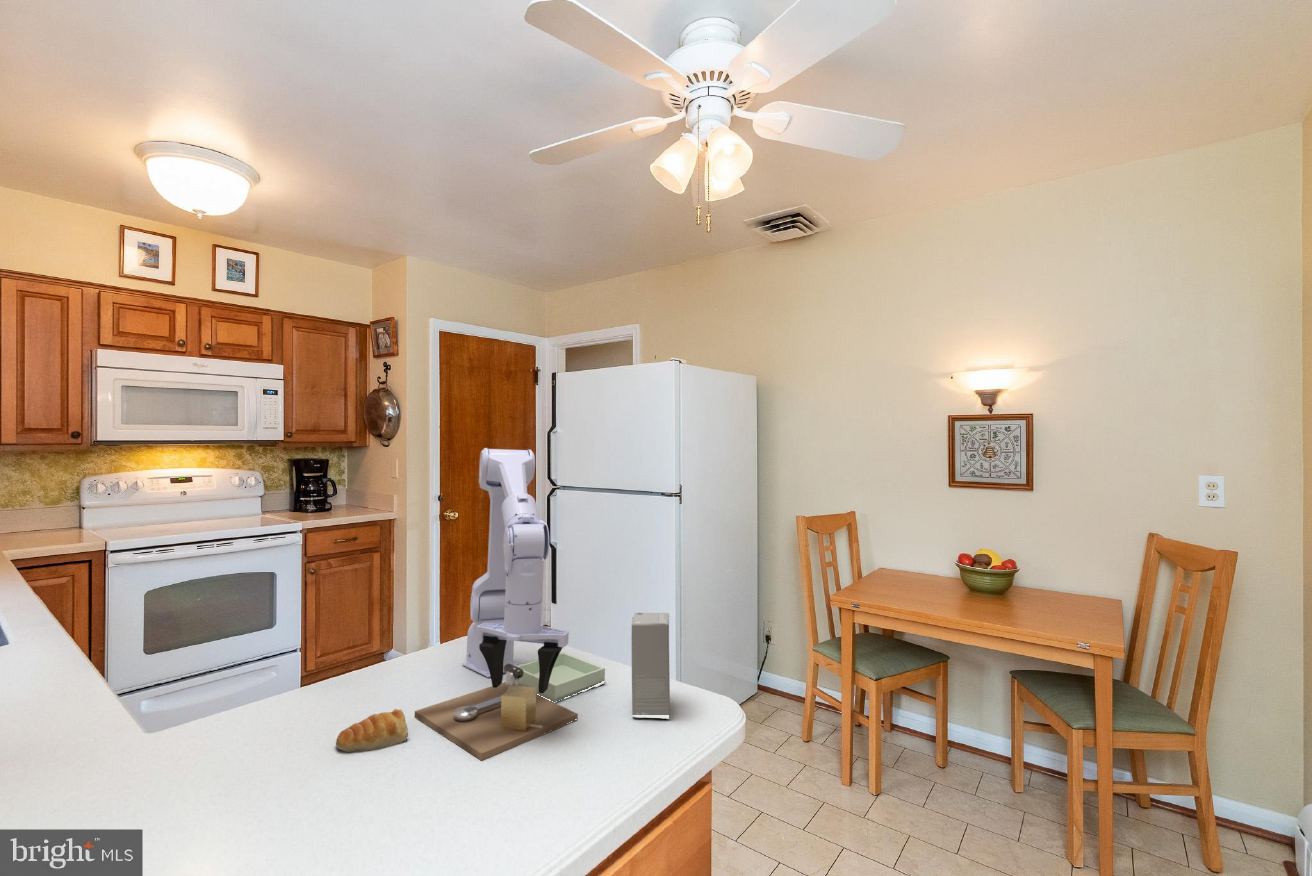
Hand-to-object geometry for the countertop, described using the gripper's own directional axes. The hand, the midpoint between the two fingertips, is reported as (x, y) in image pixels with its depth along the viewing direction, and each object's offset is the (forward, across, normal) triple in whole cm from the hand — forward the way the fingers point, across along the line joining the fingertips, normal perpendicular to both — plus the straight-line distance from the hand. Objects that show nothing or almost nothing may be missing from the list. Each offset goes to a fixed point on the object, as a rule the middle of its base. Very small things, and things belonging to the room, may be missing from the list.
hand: (520, 688), depth 94 cm
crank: (+5, -7, +4) cm, 10 cm away
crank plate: (+7, -5, +3) cm, 9 cm away
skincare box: (+7, +18, +13) cm, 24 cm away
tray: (+7, 0, +19) cm, 20 cm away
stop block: (+6, 0, 0) cm, 6 cm away
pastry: (+7, -19, -8) cm, 22 cm away
